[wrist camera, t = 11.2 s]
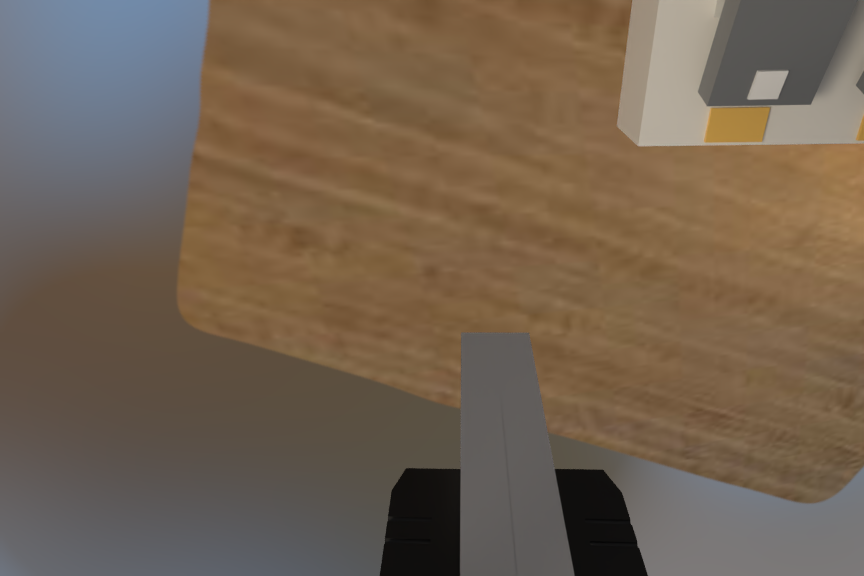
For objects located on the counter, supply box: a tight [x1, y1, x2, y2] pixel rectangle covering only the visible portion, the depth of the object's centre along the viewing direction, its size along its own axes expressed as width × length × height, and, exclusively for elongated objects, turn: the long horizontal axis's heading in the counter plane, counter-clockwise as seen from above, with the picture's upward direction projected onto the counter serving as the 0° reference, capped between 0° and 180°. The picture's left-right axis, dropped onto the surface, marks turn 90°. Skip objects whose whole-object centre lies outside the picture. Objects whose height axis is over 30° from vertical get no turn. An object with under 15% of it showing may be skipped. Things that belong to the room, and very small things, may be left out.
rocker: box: [698, 0, 858, 106], centre depth 26 cm, size 9×5×2 cm, turn 2°
